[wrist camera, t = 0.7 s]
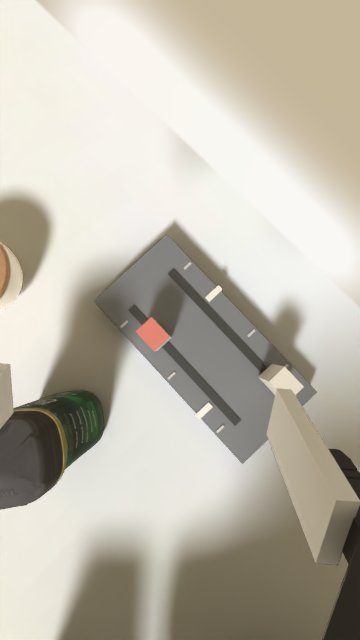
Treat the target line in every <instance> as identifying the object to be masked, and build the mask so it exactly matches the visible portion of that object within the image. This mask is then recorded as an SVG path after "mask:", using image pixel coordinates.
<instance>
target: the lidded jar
mask: <svg viewBox="0 0 360 640" xmlns="http://www.w3.org/2000/svg"><path fill="white" fill-rule="evenodd" d="M22 284H23V273H22V269H21V266H20V264H19V261H18V260H17V258H16V256H15V255H14V254H13V253H12V252H11V250H10V249H9V248H7V247H6V246H5V245H4V244H3V243H1V242H0V312H1V311H3V310H4V309H6V308H7V307H9V306H10V305H11V304H12V303H13V302H14V301H15V300H16V298H17V297H18V295H19V293H20V291H21V288H22Z"/></svg>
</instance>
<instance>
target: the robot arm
mask: <svg viewBox="0 0 360 640" xmlns="http://www.w3.org/2000/svg"><path fill="white" fill-rule="evenodd" d="M13 413H14V411H13V397H12V384H11V370H10V364H2V363H0V429H1V427H2V426H3V425H4V424H5V423H6V421H7V420H8V419H9V418H10V416H11V415H12V414H13ZM267 437H268V440H269V442H270V445H271V447H272V450H273V453H274V455H275V458H276V461H277V463H278V466H279V468H280V471H281V474H282V476H283V479H284V482H285V484H286V487H287V490H288V492H289V495H290V497H291V500H292V503H293V505H294V508H295V511H296V513H297V516H298V518H299V521H300V524H301V526H302V529H303V532H304V534H305V537H306V539H307V542H308V545H309V547H310V550H311V553H312V555H313V558H314V560H315V563H317V564H331V565H338V564H339V561H340V558H341V556H342V553H344V555H345V558H346V560H347V562H348V564H349V566H348V568H347V571H346V574H345V576H344V579H343V582H342V584H341V588H340V591H339V593H338V596H337V599H336V602H335V604H334V607H333V610H332V613H331V616H330V618H329V621H328V624H327V627H326V630H325V632H324V635H323V638H322V640H360V473H359V472H358V471H357V468H356V467H355V465H354V464H353V462H352V461H351V459H350V458H348V457H347V456H346V455H345V454H344V453H343V452H341V451H340V450H337V449H328V448H327V446H326V444H325V443H324V441H323V440H322V438H321V436H320V435H319V433H318V431H317V430H316V428H315V427H314V425H313V423H312V422H311V420H310V418H309V417H308V415H307V414H306V412H305V410H304V409H303V407H302V405H301V404H300V402H299V400H298V399H297V397H296V396H295V394H294V392H293V391H292V390H291V389H280V388H277V389H276V393H275V398H274V402H273V407H272V411H271V416H270V420H269V425H268V430H267Z"/></svg>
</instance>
